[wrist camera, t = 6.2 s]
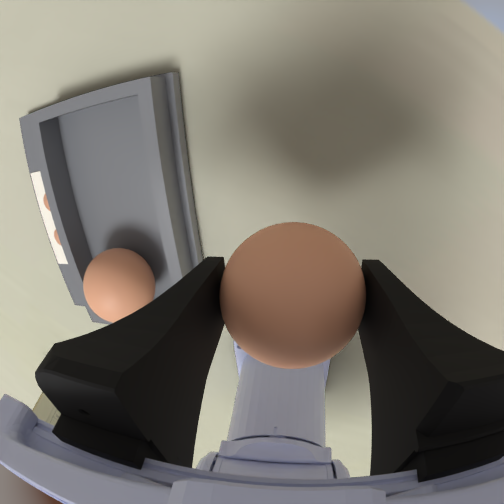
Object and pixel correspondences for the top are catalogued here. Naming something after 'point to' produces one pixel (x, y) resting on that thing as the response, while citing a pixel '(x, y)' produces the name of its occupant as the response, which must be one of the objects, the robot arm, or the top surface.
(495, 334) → the top surface
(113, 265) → the resting terracotta ball
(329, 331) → the terracotta ball
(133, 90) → the grey rimmed tray
